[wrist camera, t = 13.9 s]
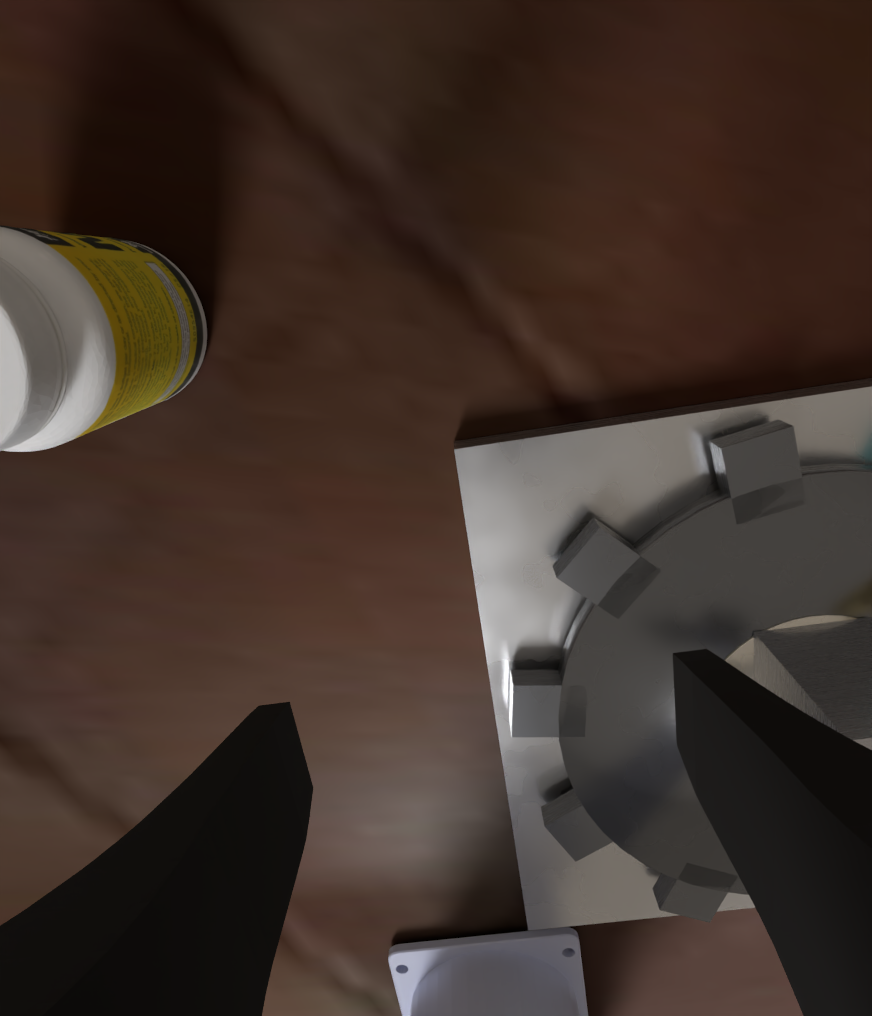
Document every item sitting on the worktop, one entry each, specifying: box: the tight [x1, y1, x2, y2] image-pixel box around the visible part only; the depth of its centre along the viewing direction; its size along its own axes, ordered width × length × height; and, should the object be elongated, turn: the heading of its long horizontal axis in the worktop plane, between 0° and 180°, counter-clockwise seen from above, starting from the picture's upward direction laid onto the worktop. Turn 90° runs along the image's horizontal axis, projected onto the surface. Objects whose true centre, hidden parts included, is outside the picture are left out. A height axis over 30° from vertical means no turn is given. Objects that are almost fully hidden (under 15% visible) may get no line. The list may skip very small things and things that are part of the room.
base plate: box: [454, 378, 872, 931], centre depth 23 cm, size 20×20×1 cm
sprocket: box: [509, 419, 872, 922], centre depth 19 cm, size 19×19×5 cm
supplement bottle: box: [0, 226, 207, 452], centre depth 16 cm, size 5×5×8 cm
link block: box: [753, 617, 872, 750], centre depth 19 cm, size 6×4×5 cm, turn 9°
